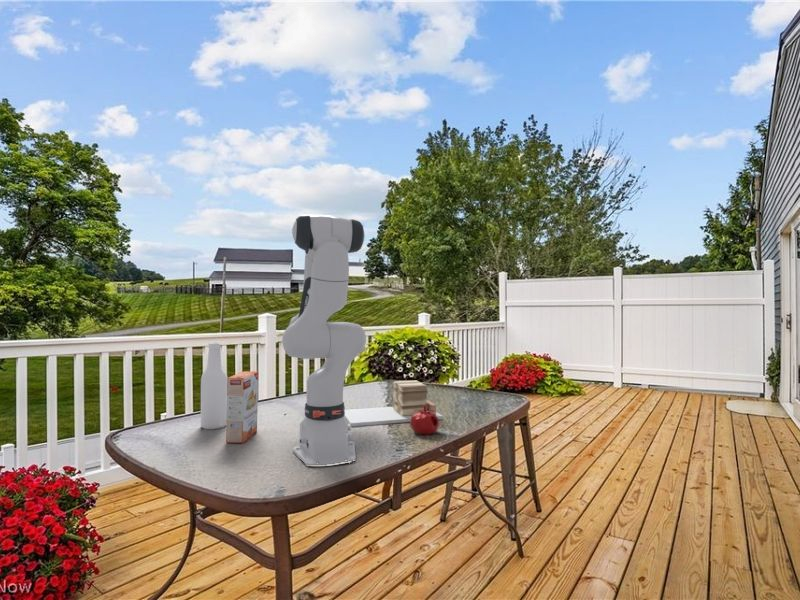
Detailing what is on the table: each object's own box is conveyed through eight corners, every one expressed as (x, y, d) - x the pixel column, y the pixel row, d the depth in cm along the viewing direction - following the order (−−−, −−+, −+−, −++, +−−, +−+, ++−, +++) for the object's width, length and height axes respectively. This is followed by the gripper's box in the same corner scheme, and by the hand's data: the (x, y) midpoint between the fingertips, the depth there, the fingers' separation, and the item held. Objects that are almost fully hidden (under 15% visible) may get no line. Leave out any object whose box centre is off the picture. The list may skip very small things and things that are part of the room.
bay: (442, 419, 176) (442, 405, 176) (351, 426, 165) (351, 412, 165) (424, 407, 195) (424, 395, 195) (340, 413, 184) (340, 400, 184)
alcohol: (204, 423, 167) (204, 341, 167) (229, 422, 169) (229, 341, 169) (197, 430, 159) (198, 344, 158) (224, 429, 160) (225, 343, 160)
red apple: (410, 436, 154) (410, 408, 154) (410, 428, 164) (410, 402, 164) (439, 437, 154) (439, 409, 154) (437, 428, 164) (438, 402, 164)
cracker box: (244, 443, 145) (244, 377, 144) (225, 443, 145) (225, 377, 145) (258, 431, 159) (259, 370, 158) (241, 430, 159) (241, 370, 159)
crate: (427, 413, 178) (427, 385, 178) (402, 415, 175) (402, 387, 175) (416, 406, 190) (416, 380, 190) (392, 408, 187) (392, 381, 187)
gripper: (331, 329, 164) (368, 340, 165) (334, 331, 185) (367, 341, 185) (325, 346, 164) (362, 357, 164) (329, 346, 184) (362, 356, 185)
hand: (365, 349), depth 175 cm, fingers closed
